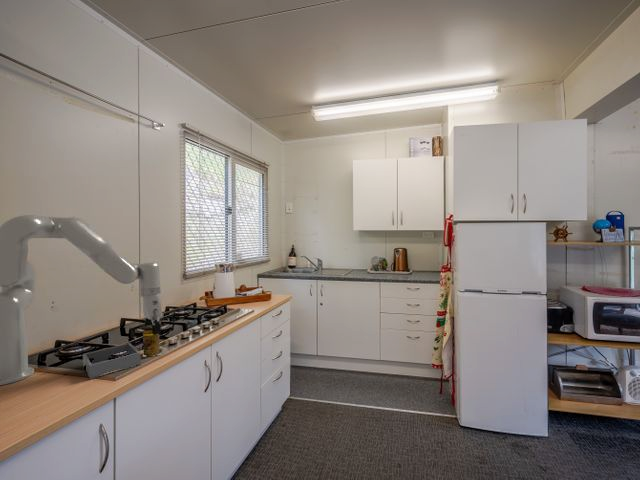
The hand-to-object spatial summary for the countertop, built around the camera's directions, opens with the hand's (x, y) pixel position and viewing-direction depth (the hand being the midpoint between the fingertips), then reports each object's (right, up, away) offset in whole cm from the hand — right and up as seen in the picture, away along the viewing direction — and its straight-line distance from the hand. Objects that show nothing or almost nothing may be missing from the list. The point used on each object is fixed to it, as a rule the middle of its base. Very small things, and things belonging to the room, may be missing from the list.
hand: (153, 331), depth 132 cm
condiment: (0, -10, 0) cm, 10 cm away
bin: (-9, -10, -12) cm, 18 cm away
